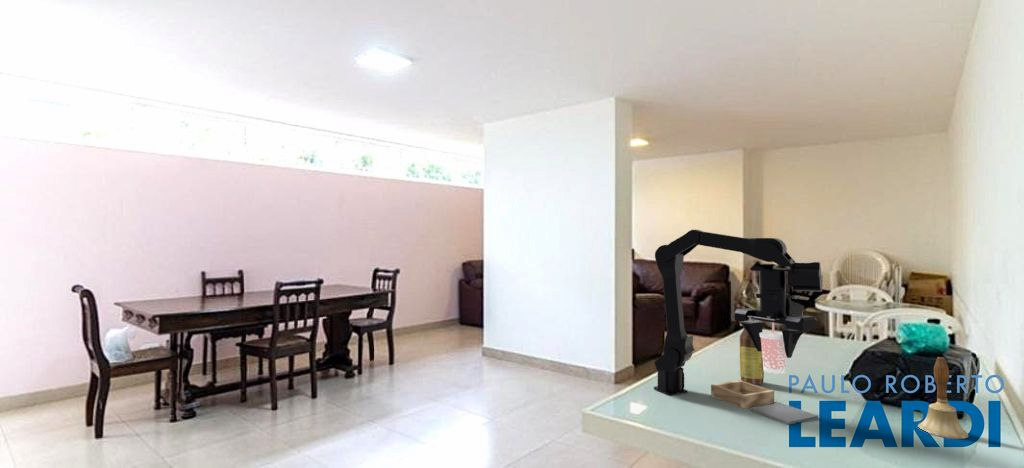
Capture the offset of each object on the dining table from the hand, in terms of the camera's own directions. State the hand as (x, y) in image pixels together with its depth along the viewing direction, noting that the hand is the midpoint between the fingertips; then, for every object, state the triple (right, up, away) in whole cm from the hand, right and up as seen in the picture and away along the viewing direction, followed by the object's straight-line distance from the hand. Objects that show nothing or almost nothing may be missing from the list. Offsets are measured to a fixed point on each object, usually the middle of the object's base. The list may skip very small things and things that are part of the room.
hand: (774, 354), depth 122 cm
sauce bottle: (+6, -14, +23) cm, 28 cm away
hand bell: (+29, -14, -13) cm, 35 cm away
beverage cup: (0, -4, 0) cm, 4 cm away
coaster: (+1, -13, -3) cm, 14 cm away
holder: (-4, -14, +8) cm, 16 cm away
